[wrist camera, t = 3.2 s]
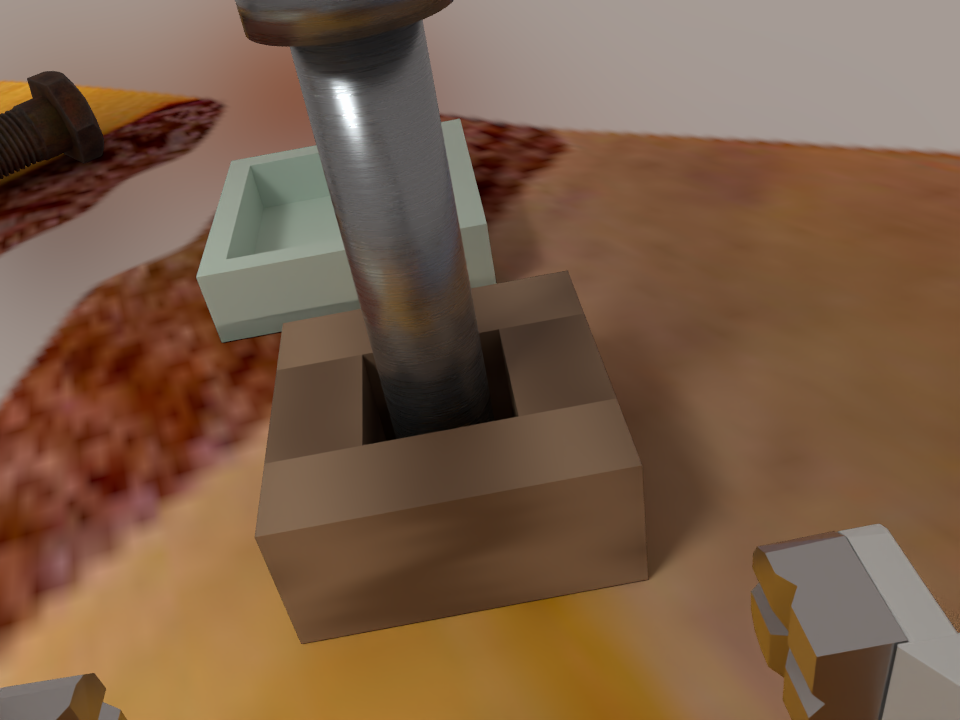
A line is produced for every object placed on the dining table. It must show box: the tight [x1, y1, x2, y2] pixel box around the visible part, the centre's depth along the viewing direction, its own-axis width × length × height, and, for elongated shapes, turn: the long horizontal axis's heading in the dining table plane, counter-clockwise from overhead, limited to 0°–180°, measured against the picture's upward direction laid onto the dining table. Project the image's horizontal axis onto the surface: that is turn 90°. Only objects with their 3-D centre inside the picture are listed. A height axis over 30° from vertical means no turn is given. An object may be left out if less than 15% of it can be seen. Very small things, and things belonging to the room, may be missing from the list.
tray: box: [196, 119, 496, 342], centre depth 38 cm, size 11×11×3 cm
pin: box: [235, 0, 495, 439], centre depth 22 cm, size 4×4×15 cm
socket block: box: [255, 271, 648, 644], centre depth 25 cm, size 9×9×4 cm
